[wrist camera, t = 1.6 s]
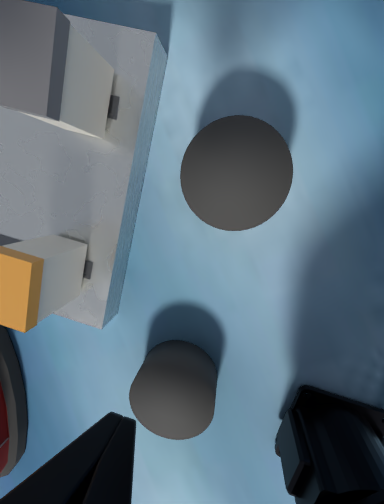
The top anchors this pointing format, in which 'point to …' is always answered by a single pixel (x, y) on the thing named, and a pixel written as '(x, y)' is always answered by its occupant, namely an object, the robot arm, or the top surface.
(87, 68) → the switch
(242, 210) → the coil
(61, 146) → the panel
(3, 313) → the switch
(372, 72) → the top surface
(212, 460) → the top surface
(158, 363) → the coil
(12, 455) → the bumper car
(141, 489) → the top surface
